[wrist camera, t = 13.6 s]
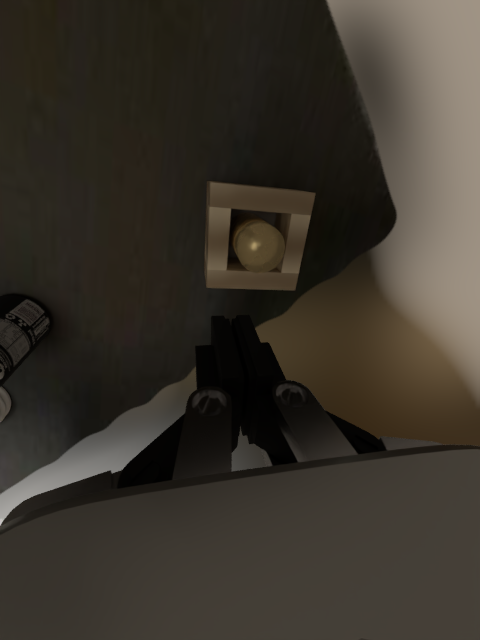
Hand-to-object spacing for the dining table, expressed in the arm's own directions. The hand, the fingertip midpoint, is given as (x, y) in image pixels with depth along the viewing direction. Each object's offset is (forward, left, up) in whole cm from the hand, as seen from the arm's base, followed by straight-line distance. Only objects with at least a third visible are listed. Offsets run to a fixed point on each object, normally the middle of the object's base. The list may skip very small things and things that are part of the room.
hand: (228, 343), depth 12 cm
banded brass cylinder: (-1, +5, -21) cm, 22 cm away
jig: (-1, +5, -22) cm, 23 cm away
